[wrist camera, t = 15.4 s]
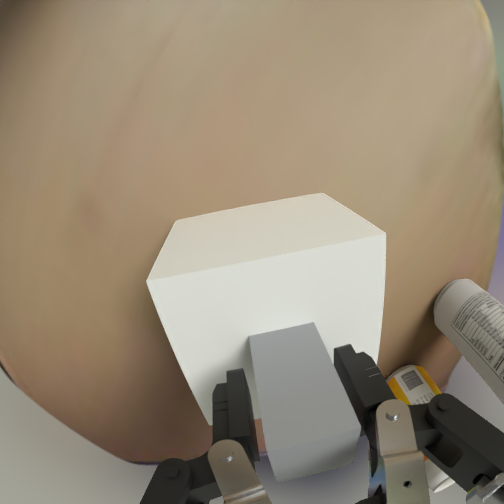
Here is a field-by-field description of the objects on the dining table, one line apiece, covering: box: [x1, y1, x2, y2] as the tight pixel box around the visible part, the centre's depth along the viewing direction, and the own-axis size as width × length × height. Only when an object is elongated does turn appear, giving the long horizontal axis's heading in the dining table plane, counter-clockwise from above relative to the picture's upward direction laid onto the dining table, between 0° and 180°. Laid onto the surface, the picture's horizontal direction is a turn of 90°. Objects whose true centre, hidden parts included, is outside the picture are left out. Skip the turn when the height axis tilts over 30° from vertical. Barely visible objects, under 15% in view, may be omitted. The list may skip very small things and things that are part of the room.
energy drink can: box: [433, 279, 504, 404], centre depth 18 cm, size 6×6×15 cm
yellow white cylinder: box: [386, 365, 455, 492], centre depth 22 cm, size 6×6×15 cm
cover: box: [146, 193, 386, 482], centre depth 15 cm, size 10×10×15 cm
